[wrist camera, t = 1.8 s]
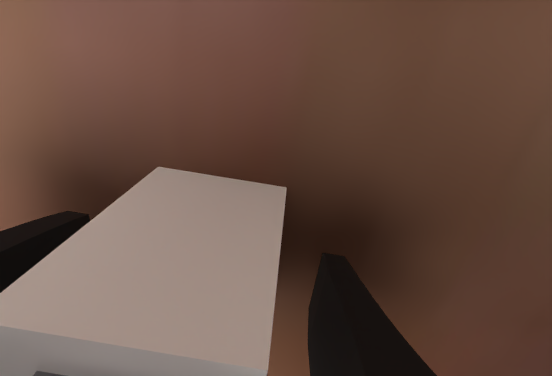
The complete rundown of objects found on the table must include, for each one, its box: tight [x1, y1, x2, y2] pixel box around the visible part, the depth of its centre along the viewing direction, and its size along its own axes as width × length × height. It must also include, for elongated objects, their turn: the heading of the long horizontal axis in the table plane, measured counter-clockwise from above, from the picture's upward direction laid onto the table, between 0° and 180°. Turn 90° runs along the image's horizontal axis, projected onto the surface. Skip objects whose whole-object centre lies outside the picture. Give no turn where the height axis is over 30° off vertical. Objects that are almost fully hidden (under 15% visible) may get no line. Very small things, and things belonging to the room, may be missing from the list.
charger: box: [0, 167, 287, 376], centre depth 8 cm, size 4×4×6 cm
